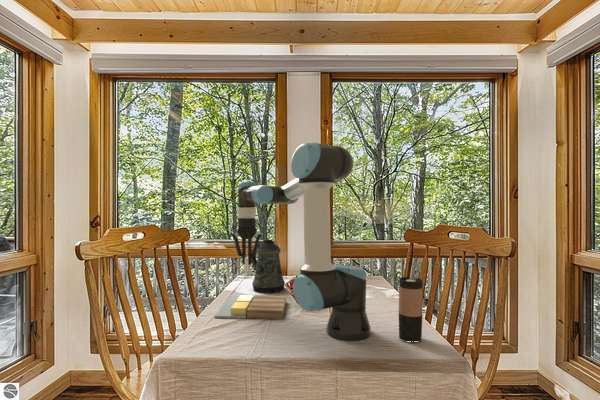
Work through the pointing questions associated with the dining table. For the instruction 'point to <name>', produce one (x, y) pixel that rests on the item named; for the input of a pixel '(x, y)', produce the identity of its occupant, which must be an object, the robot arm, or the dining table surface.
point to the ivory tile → (245, 298)
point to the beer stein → (267, 268)
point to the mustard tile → (239, 308)
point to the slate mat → (228, 311)
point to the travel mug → (410, 308)
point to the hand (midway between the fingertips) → (246, 272)
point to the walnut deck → (267, 307)
